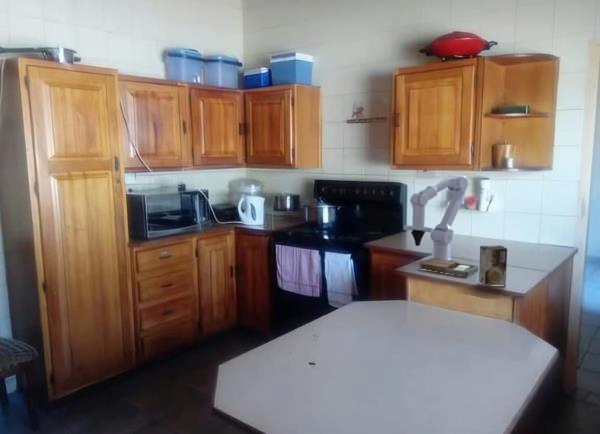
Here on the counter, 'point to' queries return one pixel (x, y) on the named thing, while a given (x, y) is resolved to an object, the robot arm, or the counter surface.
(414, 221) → the robot arm
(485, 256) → the coffee box
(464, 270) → the sage tile
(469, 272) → the box
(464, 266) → the cream tile
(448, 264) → the flat brown block
